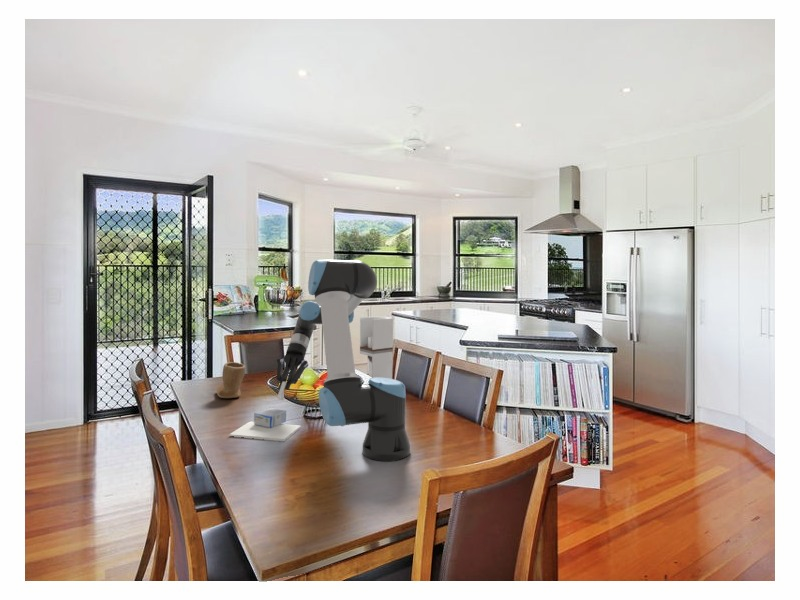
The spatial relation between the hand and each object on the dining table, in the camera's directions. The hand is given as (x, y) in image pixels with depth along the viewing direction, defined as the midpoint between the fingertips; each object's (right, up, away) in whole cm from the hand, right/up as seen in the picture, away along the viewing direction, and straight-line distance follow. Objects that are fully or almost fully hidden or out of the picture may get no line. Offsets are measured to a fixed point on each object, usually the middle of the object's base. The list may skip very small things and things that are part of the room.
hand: (280, 398), depth 177 cm
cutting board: (-2, -10, -11) cm, 15 cm away
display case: (+33, -7, +47) cm, 58 cm away
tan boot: (-31, -6, +35) cm, 47 cm away
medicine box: (-1, -6, 0) cm, 6 cm away
